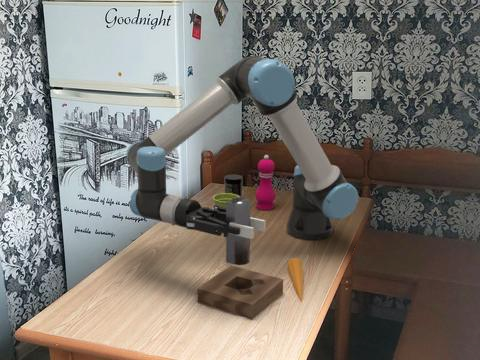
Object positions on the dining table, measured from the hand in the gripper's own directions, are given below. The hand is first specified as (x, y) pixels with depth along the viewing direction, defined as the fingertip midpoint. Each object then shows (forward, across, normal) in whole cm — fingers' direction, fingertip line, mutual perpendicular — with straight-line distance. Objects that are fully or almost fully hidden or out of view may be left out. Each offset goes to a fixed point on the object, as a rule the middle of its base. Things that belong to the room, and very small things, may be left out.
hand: (258, 229), depth 145 cm
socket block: (-5, 0, -20) cm, 20 cm away
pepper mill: (-33, -64, -20) cm, 75 cm away
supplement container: (-46, -62, -20) cm, 79 cm away
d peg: (-5, 0, -10) cm, 11 cm away
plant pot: (-38, -45, -20) cm, 62 cm away
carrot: (+4, -14, -20) cm, 25 cm away
